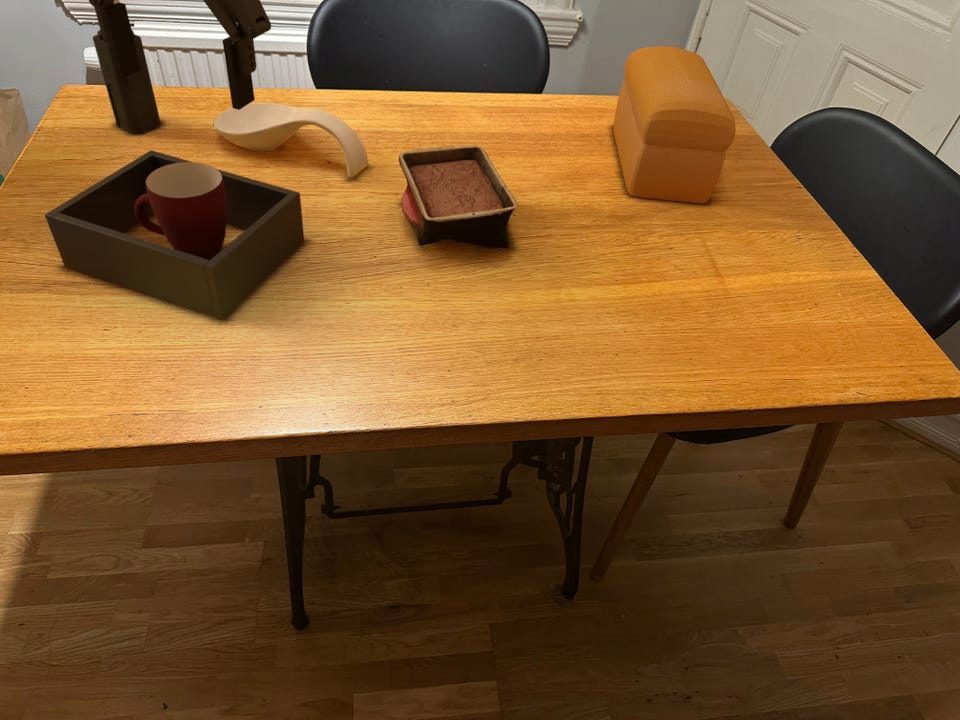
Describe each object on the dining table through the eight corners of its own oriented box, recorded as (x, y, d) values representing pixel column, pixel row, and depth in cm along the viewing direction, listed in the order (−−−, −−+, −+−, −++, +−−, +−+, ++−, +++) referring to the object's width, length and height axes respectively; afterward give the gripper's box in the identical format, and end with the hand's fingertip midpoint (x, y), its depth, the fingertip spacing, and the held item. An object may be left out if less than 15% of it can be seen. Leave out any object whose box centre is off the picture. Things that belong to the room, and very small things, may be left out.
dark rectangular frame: (64, 267, 79) (43, 214, 75) (163, 199, 91) (150, 149, 87) (223, 320, 75) (212, 267, 71) (304, 241, 87) (300, 192, 83)
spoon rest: (200, 147, 102) (191, 99, 97) (250, 118, 110) (243, 72, 106) (341, 191, 97) (338, 142, 92) (382, 156, 105) (381, 111, 100)
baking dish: (406, 274, 88) (416, 213, 80) (391, 184, 98) (398, 121, 90) (515, 275, 92) (534, 216, 84) (489, 188, 102) (504, 128, 94)
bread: (711, 205, 104) (747, 107, 93) (626, 196, 103) (652, 97, 93) (683, 132, 121) (710, 43, 111) (610, 125, 121) (630, 35, 111)
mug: (134, 272, 80) (110, 195, 73) (153, 233, 86) (132, 159, 79) (229, 275, 81) (215, 199, 74) (241, 236, 87) (229, 163, 80)
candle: (113, 124, 105) (60, -65, 88) (143, 114, 108) (97, -71, 91) (134, 135, 103) (84, -56, 86) (164, 125, 106) (121, -62, 89)
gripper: (-29, -191, 56) (56, 73, 71) (243, -139, 52) (273, 132, 66) (44, -197, 61) (108, 50, 76) (295, -150, 57) (313, 103, 71)
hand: (185, 89), depth 71 cm, fingers open, 13 cm apart
